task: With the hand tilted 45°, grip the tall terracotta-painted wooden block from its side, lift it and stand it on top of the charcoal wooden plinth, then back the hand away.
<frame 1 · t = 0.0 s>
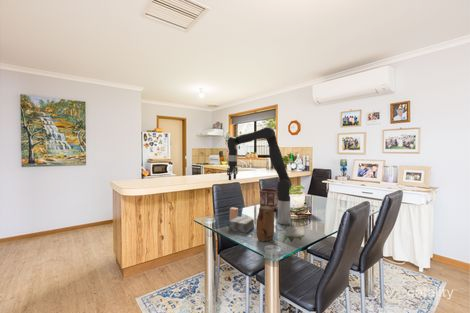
hand: (232, 179, 194), 29 cm above the table, tool pointing down, fingers open, 8 cm apart
reddish brown crate: (269, 209, 211), on the table
candy box: (302, 214, 199), on the table
block: (264, 239, 141), on the table
charcoal plinth: (241, 228, 160), on the table
terracotta block: (233, 221, 175), on the table
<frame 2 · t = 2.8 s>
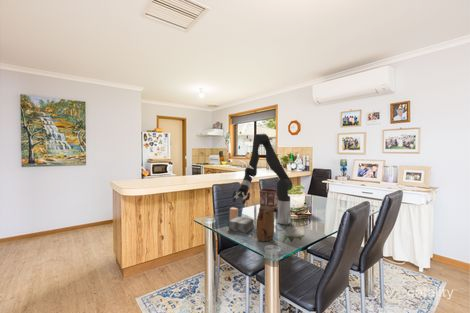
hand: (238, 203, 181), 12 cm above the table, tool tilted 45°, fingers open, 8 cm apart
nothing on the table moved.
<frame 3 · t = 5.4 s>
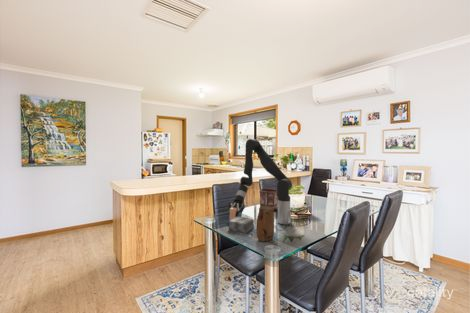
hand: (232, 215, 173), 5 cm above the table, tool tilted 45°, fingers closed on terracotta block, 5 cm apart
terracotta block: (233, 221, 175), on the table, touching gripper
everything else where it was.
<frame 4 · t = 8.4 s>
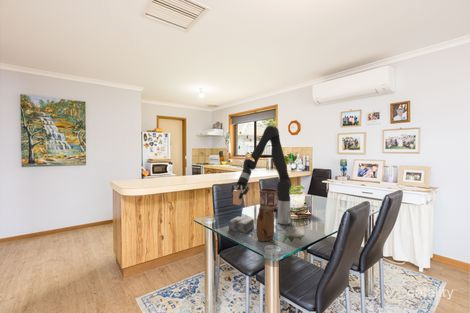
hand: (236, 198, 167), 20 cm above the table, tool tilted 45°, fingers closed on terracotta block, 5 cm apart
terracotta block: (237, 203, 168), point 15 cm above the table, touching gripper
everything else where it was.
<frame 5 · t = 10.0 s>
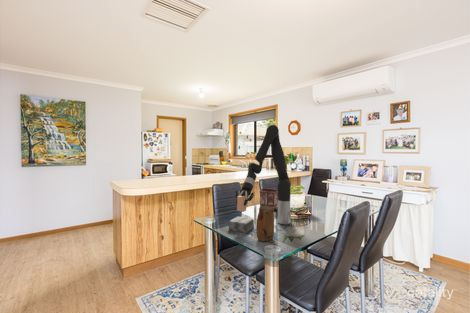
hand: (240, 204, 158), 17 cm above the table, tool tilted 45°, fingers closed on terracotta block, 5 cm apart
terracotta block: (241, 210, 159), point 13 cm above the table, touching gripper
everything else where it was.
when the fingers open (12 cm above the table, at t = 11.5 s): terracotta block drops 1 cm, resting on charcoal plinth.
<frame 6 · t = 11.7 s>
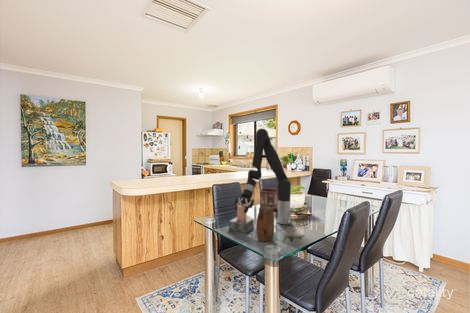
hand: (240, 211, 158), 12 cm above the table, tool tilted 45°, fingers open, 6 cm apart
terracotta block: (241, 219, 160), point 6 cm above the table, touching charcoal plinth
everything else where it was.
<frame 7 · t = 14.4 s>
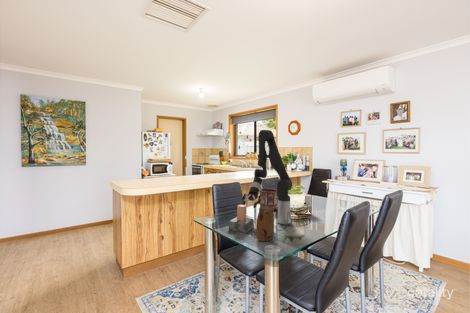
hand: (248, 206, 169), 13 cm above the table, tool tilted 45°, fingers open, 8 cm apart
nothing on the table moved.
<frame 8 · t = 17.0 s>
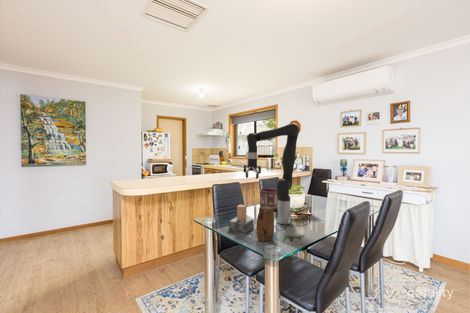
hand: (252, 178, 183), 32 cm above the table, tool pointing down, fingers open, 8 cm apart
nothing on the table moved.
at the end: terracotta block inside the target area on the charcoal plinth (0.0 cm from its centre), point 6.0 cm above the charcoal plinth's base; terracotta block tilted 0°; the gripper is holding nothing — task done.
